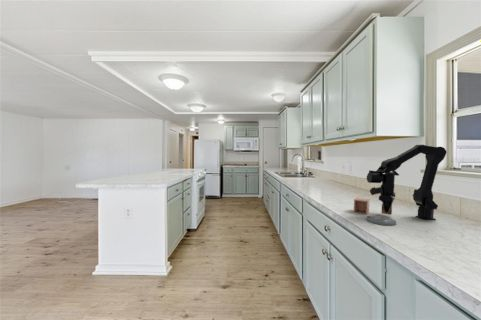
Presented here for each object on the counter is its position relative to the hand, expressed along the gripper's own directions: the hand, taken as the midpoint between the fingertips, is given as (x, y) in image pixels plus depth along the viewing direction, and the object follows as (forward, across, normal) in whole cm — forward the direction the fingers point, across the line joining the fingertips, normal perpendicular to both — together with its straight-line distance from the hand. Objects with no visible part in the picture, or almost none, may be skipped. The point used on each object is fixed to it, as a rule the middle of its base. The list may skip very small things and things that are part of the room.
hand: (386, 211), depth 125 cm
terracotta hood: (+3, -1, -13) cm, 13 cm away
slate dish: (+3, +13, -1) cm, 13 cm away
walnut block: (+1, 0, 0) cm, 1 cm away
